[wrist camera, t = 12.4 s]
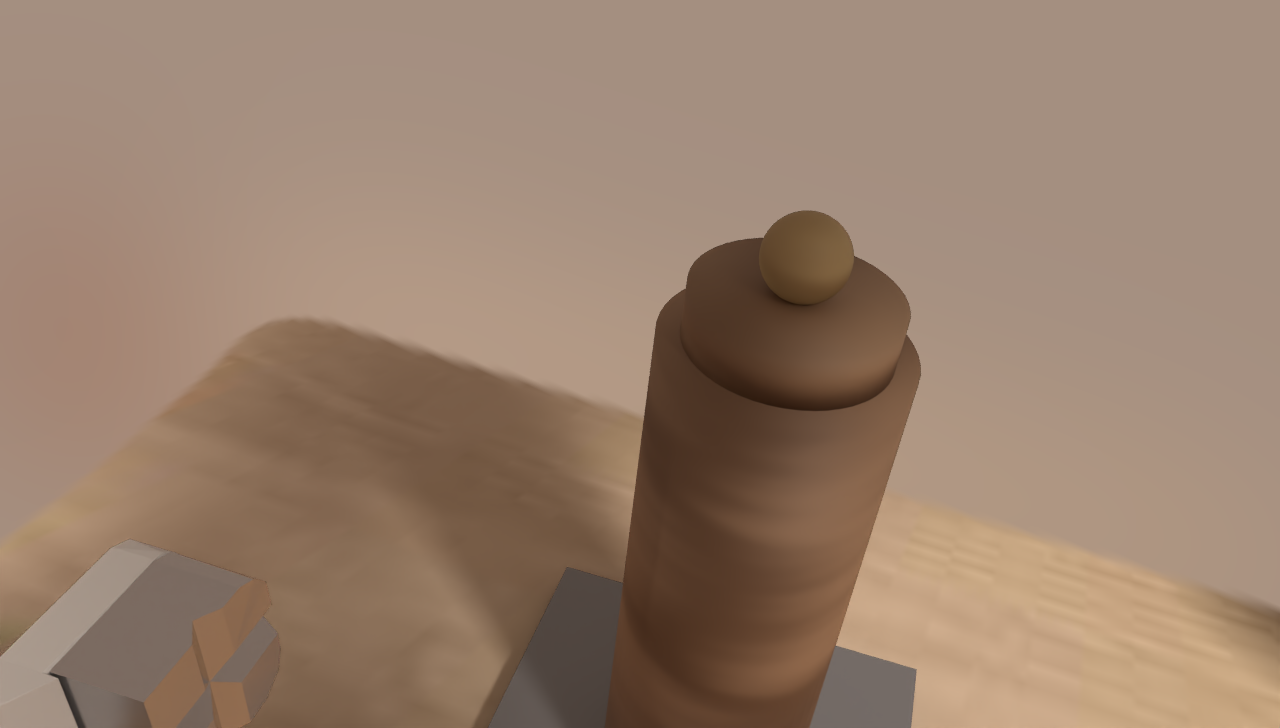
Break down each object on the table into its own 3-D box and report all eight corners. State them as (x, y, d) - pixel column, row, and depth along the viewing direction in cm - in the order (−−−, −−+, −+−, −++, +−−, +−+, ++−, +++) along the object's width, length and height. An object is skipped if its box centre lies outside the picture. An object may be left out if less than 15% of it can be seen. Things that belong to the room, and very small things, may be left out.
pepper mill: (800, 721, 32) (965, 187, 21) (768, 889, 27) (956, 323, 17) (630, 670, 32) (708, 134, 22) (573, 824, 28) (637, 250, 18)
